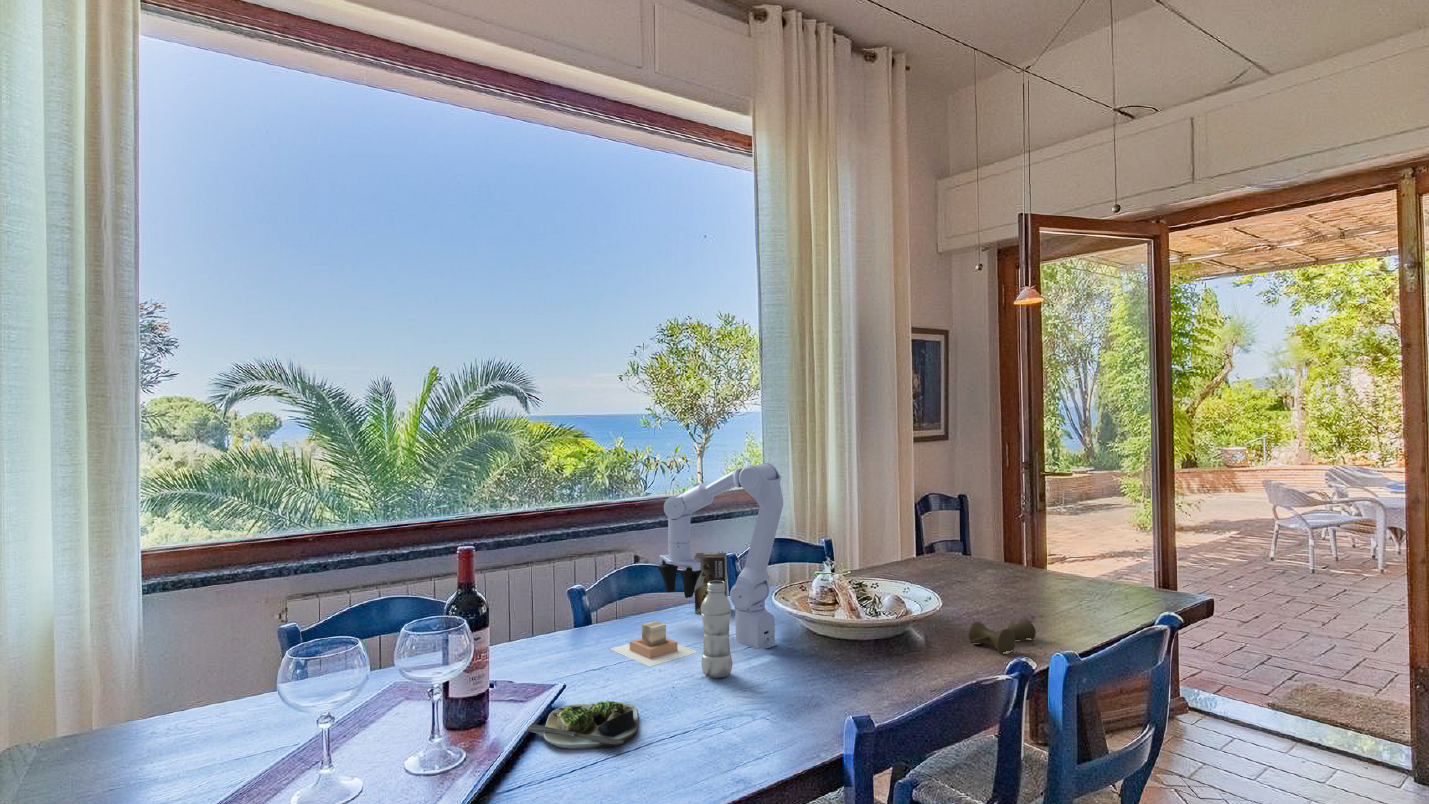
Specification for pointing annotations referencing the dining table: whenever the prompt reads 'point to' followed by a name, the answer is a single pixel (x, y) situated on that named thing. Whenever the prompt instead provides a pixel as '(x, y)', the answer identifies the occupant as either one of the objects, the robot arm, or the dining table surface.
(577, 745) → the salad plate
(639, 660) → the cream flat mat
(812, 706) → the dining table surface
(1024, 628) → the olive double spool shape
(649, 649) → the terracotta holder
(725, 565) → the coffee box
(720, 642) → the plastic bottle
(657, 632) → the birch peg
